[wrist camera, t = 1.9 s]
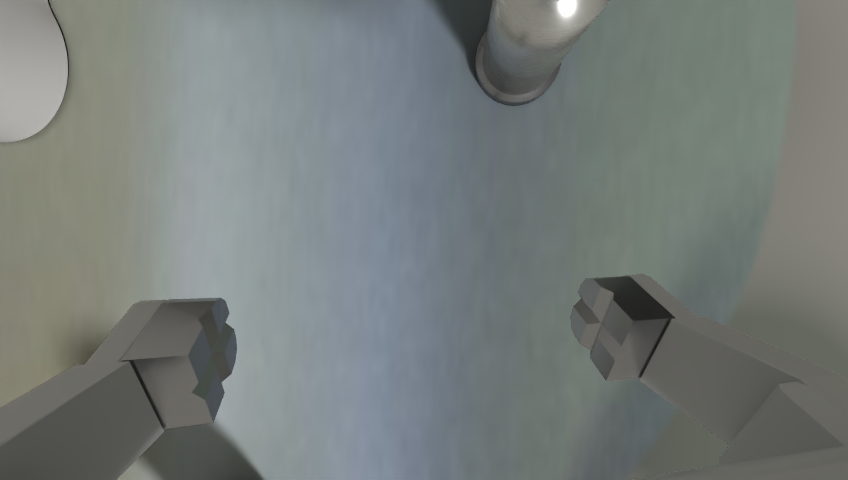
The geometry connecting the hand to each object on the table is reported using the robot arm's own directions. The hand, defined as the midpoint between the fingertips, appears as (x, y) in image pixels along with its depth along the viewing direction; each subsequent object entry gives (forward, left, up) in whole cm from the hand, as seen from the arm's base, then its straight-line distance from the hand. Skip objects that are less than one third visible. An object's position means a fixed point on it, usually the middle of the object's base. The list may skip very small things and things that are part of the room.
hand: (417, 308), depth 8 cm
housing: (-2, +14, -23) cm, 27 cm away
